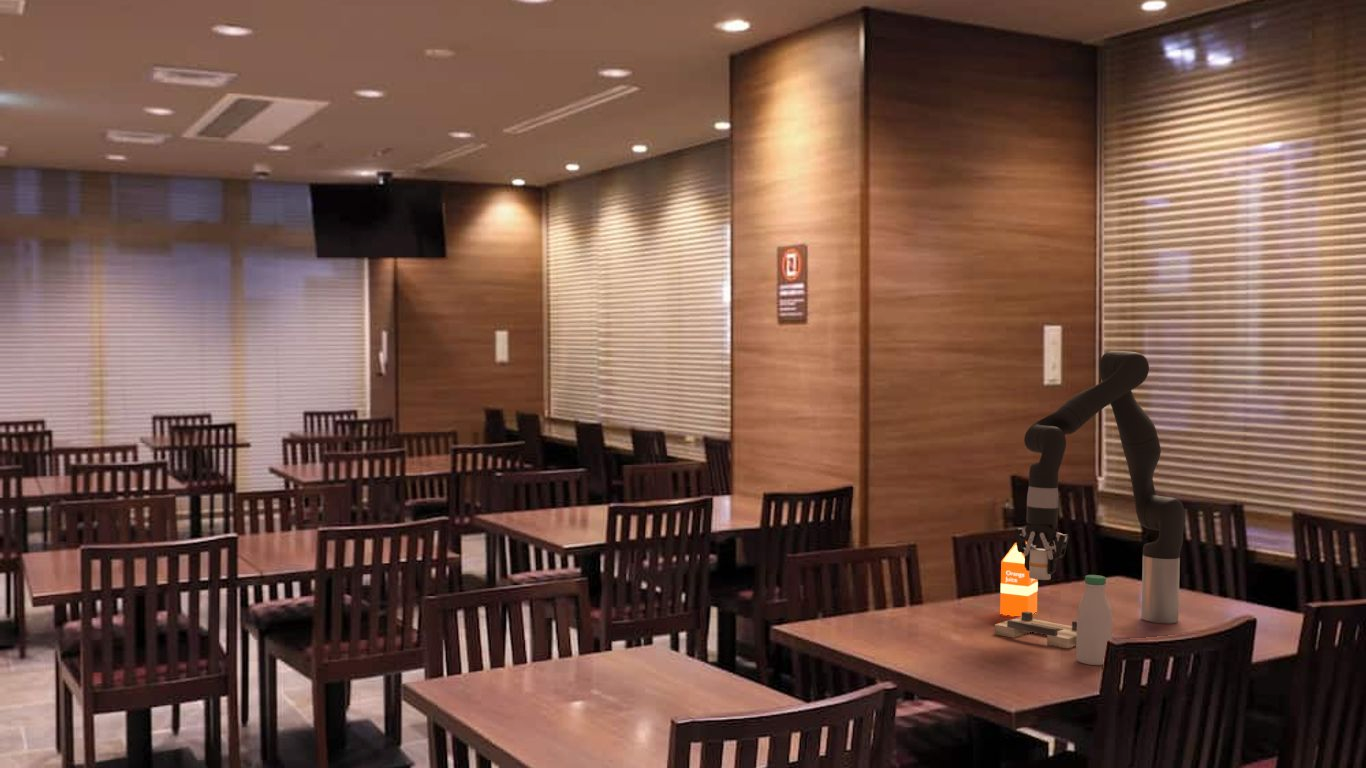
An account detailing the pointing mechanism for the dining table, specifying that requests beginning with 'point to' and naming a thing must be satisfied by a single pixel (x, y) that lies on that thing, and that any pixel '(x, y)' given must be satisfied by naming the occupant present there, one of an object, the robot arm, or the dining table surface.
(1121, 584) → the dining table surface
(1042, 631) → the shelf board
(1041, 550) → the orange-banded white cylinder
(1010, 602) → the orange juice
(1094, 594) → the milk bottle
